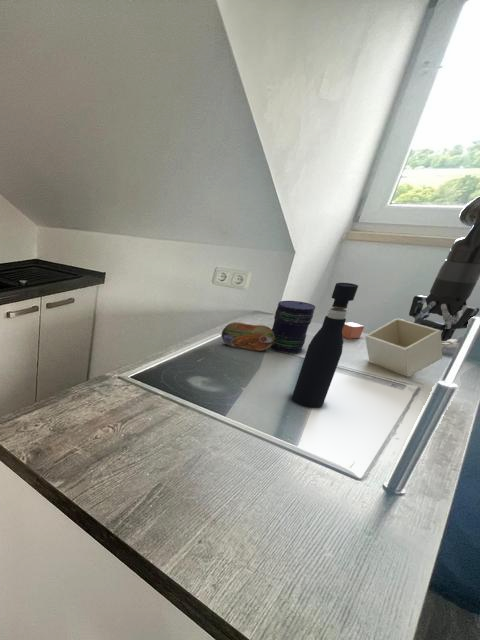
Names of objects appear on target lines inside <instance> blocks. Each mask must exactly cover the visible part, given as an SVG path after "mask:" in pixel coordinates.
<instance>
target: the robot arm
mask: <svg viewBox="0 0 480 640" xmlns="http://www.w3.org/2000/svg"><path fill="white" fill-rule="evenodd" d="M459 221H460V223H461V224H463V225H464V226H466V227H471V229H470V230H469V231H468V233H467V234H466V236H465V237H460V238H457V239H456V240H455V241H454V242H453V244H452V245H451V247H450V249H449V251H448V254H447V256H446V258H445V260H444V262H443V264H442V265H441V267H440V268H439V271H438V272H437V275H436V277H435V279H434V281H433V283H432V286H431V288H430V290H429V295H428V296H425V295H414V296H413V298H412V301H411V306H410V309H409V312H408V316H409V317H412V318H414V322H413V323H416V320H417V319H418V318H422V319H426V320H428V318H429V317H431V316H433V315H438V316H440V317H442V321H444V324H445V327H446V328H444V329H443V330H442V331H441V342H447V341H449V340H450V341H451V339H452V337H453V336H454V333H455V331H456V330H459V329H461V330H463V329H468V327H467V324H468V320H469V319H470V318H471V317H473V316H475V317H476V316H477V314H479V312H480V308H479V307H473V306H469V305H467V304H468V303H467V301H468V299H470V297H471V295H472V293H473V291H474V290H475V287H476V286H477V283H478V282H479V279H480V195H479V196H477V197H476V198H474V199H473V200H471V201H470V202H468V203H467V204H466V205H464V207H463V209H461V211H460V213H459ZM425 303H426V306H425V307H424V304H425ZM423 307H424V308H423ZM460 311H461V316H460V314H459V313H460Z"/></svg>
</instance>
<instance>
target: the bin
mask: <svg viewBox="0 0 480 640" xmlns="http://www.w3.org/2000/svg"><path fill="white" fill-rule="evenodd" d="M444 328H446V327H445V323H441V322H437V321H433V320H431V319H430V320H429V319H422V318H418V319H417V320H416V323H414V322H412V321H409V320H405V319H402V318H399V317H396V318H394V319H393V320H391V321H389V322H387V323H386V324H383V325H382V326H380V327H378V328H377V329H375V330H373V331H371V332H370V333H368V334H366V335H364V338H365V343H366V350H367V357H368V362H370V363H373V364H375V365H378V366H379V367H382V368H385V369H387V370H390V371H392V372H395V373H398V374H399V375H403V376H405V377H408V378H409V377H411V376H413V375H414V374H416V373H418V372H420V371H422V370H424V369H426V368H427V367H429V366H431V365H433V364H434V363H437V362H439V361H441V360H442V359H443V347H442V346H443V343H442V341H441V333H442V331H443V329H444Z"/></svg>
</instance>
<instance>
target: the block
mask: <svg viewBox="0 0 480 640" xmlns="http://www.w3.org/2000/svg"><path fill="white" fill-rule="evenodd" d="M364 328H365V326H364V325H362V324H359V323H356V322H354V321H353V322H352V321H351V322H345V324H344V327H343V330H342V334H343V338H346V339H348V340H349V339H350V340H351V339H360V338H361V337H362V333H363V331H364Z"/></svg>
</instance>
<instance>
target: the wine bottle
mask: <svg viewBox="0 0 480 640" xmlns="http://www.w3.org/2000/svg"><path fill="white" fill-rule="evenodd" d="M358 288H359V285H358V284H355V283H350V282H336V283H335V285H334V287H333V290H332V291H333V292H332V294H331V299H334V300H333V303H332V304H331V308H329V309H328V312H327V315H325V316H324V320H323V322H322V325H321V327H320V329H318V331H317V332H316V333H315V335H313V337H312V339H311V340H310V342H309V344H308V346H307V350H306V352H305V355H304V358H303V362H302V365H301V369H300V371H299V374H298V377H297V380H296V383H295V387H294V389H293V393H292V395H291V400H292V401H293V402H294V403H296V404H298V405H300V406H304V407H307V408H313V409H316V408H321V407H323V405H324V403H325V402H326V401H325V400H326V398H327V395H328V392H329V390H330V386H331V384H332V381H333V378H334V376H335V373H336V370H337V367H338V365H339V362H340V359H341V357H342V354H343V348H344V337H343V334H342V330H343V327H344V324H345V323H346V321H347V318H346V317H347V314H348V310H347V308H348V304H349V302H351V301H354V300H355V297H356V294H357V291H358Z"/></svg>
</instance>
